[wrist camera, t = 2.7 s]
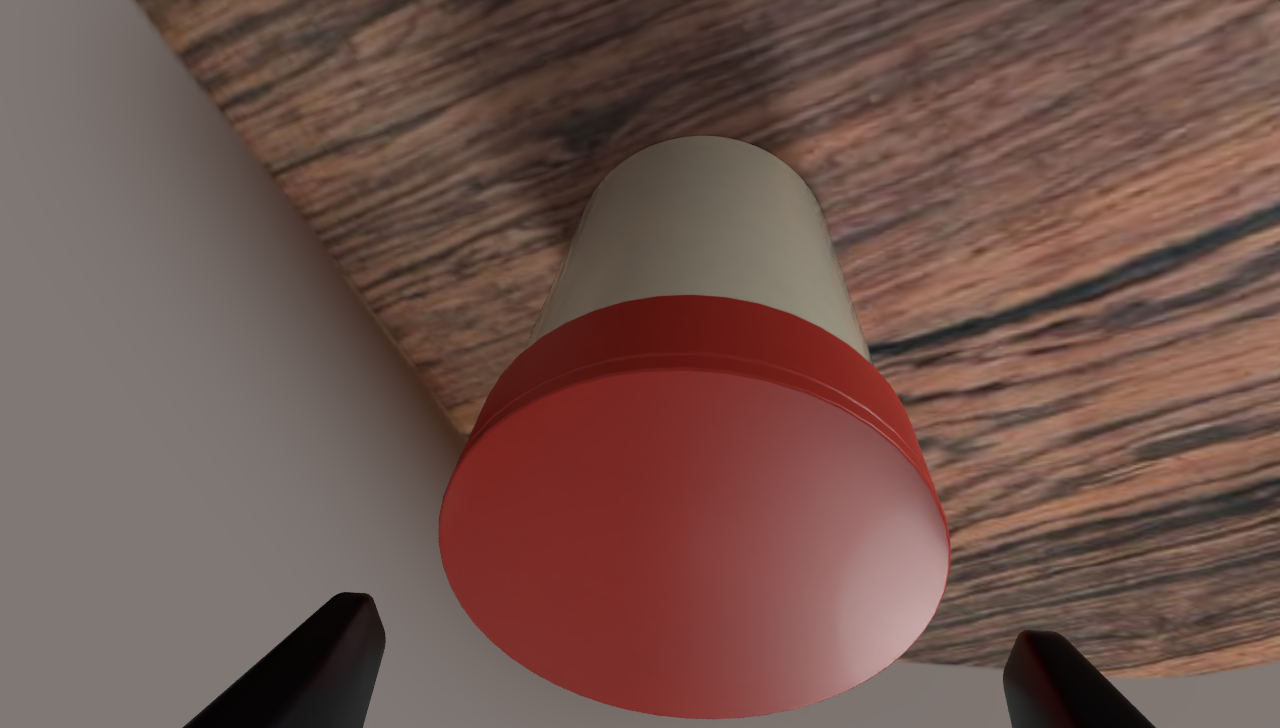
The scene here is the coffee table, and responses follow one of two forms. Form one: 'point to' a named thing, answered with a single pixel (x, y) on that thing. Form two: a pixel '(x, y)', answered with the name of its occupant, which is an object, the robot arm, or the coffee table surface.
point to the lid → (695, 512)
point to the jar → (704, 238)
